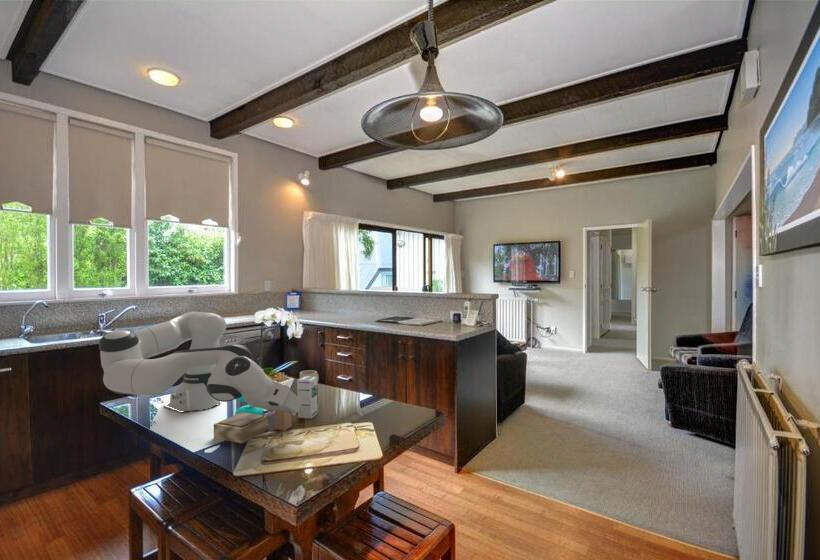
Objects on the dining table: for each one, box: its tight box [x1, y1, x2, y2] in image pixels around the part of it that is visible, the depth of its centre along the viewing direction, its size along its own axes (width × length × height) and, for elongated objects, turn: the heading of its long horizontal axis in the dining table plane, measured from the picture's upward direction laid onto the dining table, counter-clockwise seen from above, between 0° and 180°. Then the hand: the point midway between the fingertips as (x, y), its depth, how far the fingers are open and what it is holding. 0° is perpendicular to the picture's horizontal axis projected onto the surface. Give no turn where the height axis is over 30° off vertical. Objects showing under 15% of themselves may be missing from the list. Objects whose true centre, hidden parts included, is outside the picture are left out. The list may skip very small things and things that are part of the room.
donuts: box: [234, 395, 264, 415], centre depth 146 cm, size 10×10×10 cm
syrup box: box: [296, 376, 319, 419], centre depth 146 cm, size 6×6×14 cm
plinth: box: [213, 412, 269, 444], centre depth 130 cm, size 12×12×5 cm
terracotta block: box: [274, 410, 293, 431], centre depth 135 cm, size 4×4×9 cm
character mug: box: [297, 369, 320, 382], centre depth 162 cm, size 11×7×13 cm, turn 146°
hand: (282, 412), depth 134 cm, fingers open, 8 cm apart
